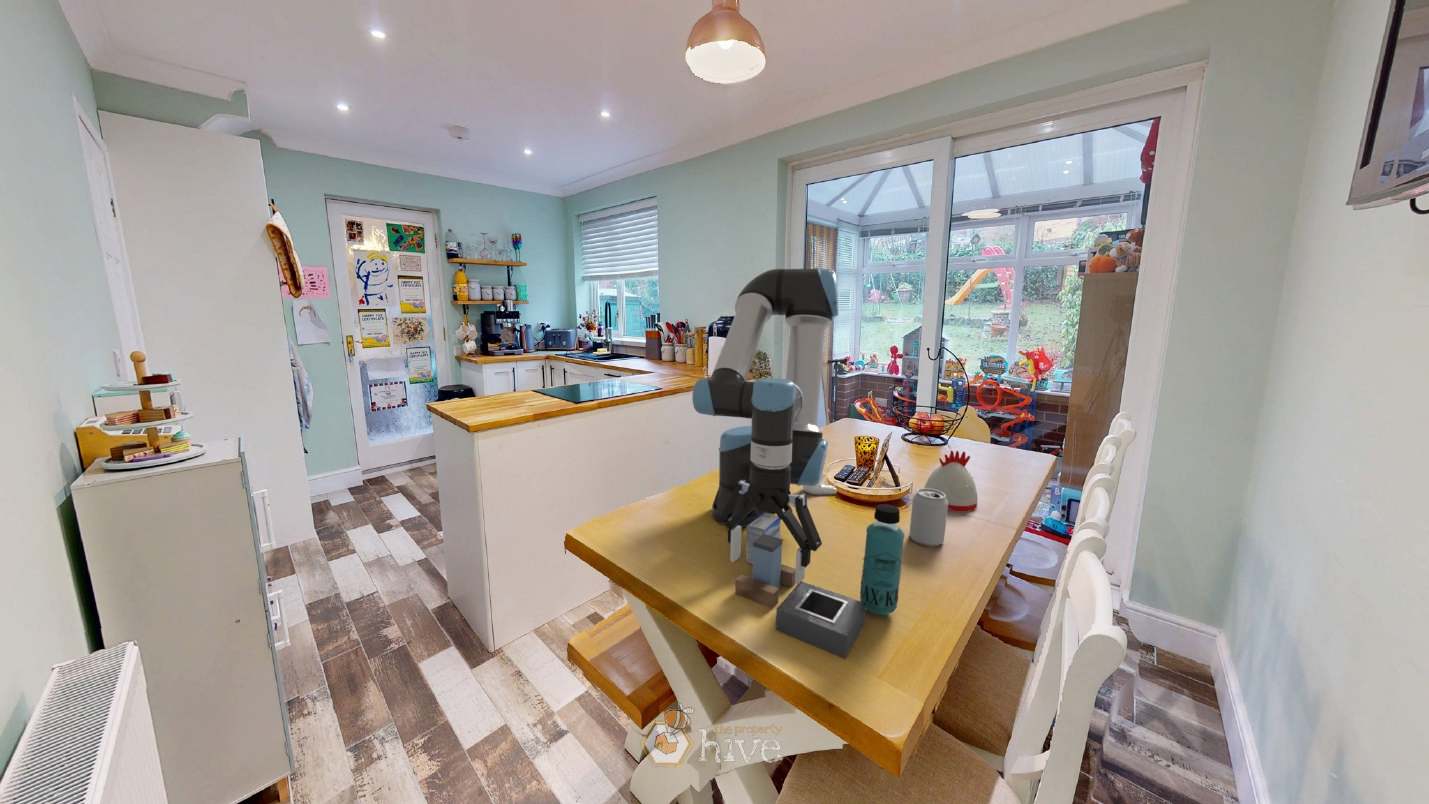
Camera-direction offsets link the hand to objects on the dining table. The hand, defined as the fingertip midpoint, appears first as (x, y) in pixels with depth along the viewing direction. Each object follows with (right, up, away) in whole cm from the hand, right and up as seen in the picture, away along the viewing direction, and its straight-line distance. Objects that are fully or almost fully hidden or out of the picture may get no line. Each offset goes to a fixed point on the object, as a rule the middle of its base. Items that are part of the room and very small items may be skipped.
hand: (766, 569), depth 92 cm
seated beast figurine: (+20, +5, +50) cm, 55 cm away
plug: (0, -4, +1) cm, 4 cm away
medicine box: (+1, -2, +12) cm, 13 cm away
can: (+40, -1, +21) cm, 45 cm away
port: (+8, -6, -10) cm, 14 cm away
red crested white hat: (+57, +4, +44) cm, 72 cm away
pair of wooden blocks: (0, -4, +1) cm, 4 cm away
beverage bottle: (+19, -6, -6) cm, 21 cm away
